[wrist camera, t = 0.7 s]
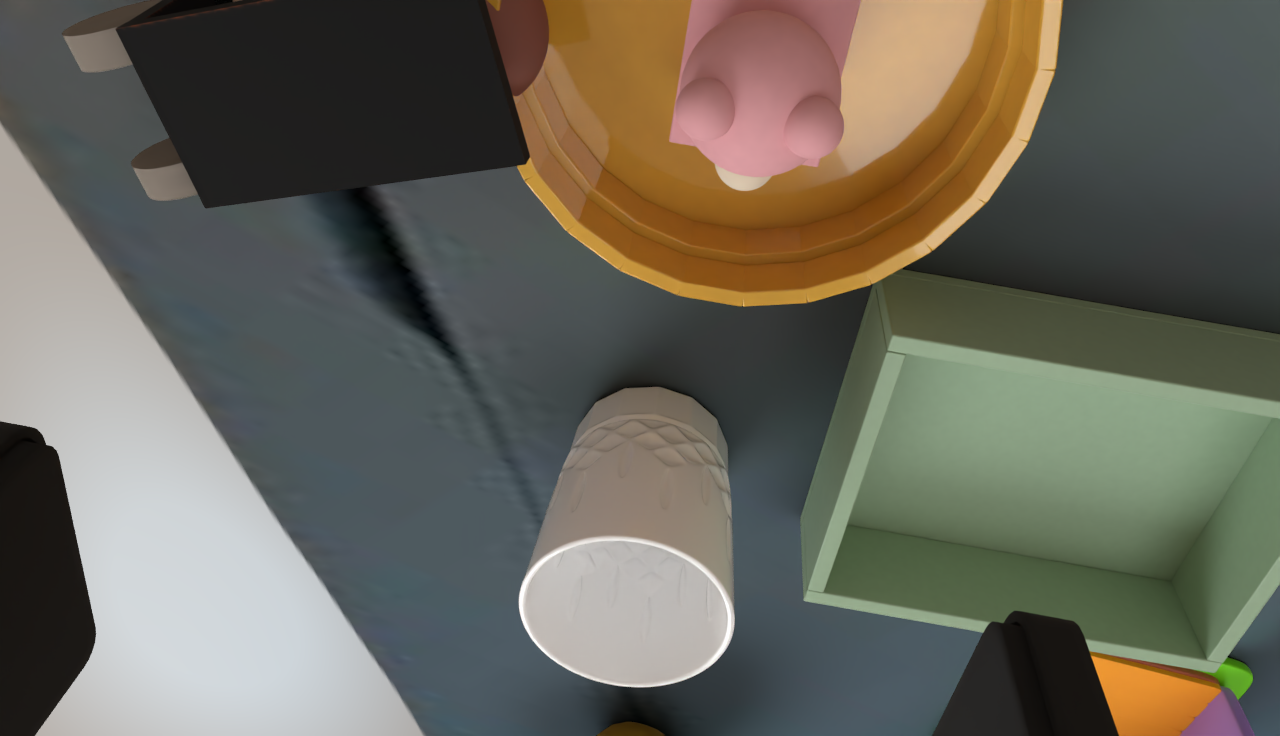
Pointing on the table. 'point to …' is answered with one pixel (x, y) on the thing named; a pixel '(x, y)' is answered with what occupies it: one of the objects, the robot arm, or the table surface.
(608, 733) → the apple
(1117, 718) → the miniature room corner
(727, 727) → the table surface
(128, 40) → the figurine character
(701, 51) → the toy bear
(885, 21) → the bowl
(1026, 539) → the tub
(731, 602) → the white cup
